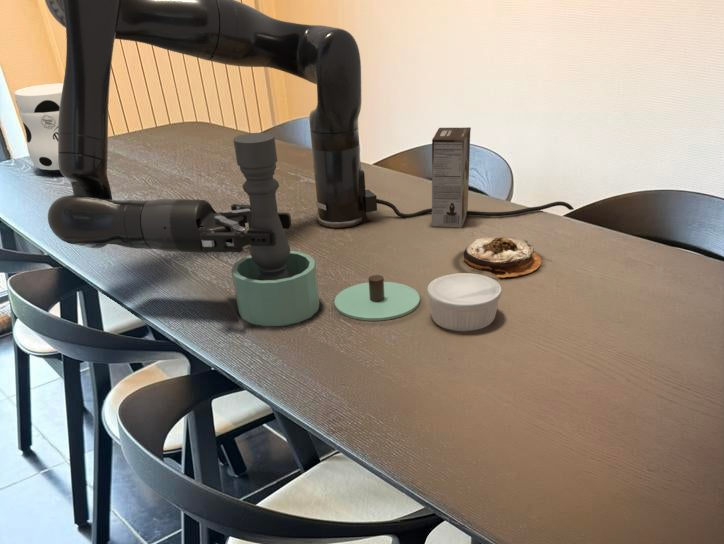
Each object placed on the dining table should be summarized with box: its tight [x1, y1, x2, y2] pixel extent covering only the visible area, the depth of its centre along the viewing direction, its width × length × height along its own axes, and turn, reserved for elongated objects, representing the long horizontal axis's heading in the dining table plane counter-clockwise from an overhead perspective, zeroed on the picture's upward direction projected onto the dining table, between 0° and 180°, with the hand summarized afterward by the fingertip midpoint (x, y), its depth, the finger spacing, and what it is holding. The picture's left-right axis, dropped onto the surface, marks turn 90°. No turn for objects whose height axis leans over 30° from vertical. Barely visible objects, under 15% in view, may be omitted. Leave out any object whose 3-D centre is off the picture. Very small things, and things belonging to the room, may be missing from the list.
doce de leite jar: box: [13, 82, 64, 174], centre depth 179 cm, size 17×17×18 cm
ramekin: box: [426, 272, 503, 332], centre depth 108 cm, size 11×11×5 cm
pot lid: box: [333, 274, 421, 322], centre depth 113 cm, size 14×14×5 cm
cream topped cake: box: [463, 236, 542, 279], centre depth 125 cm, size 15×15×4 cm
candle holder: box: [232, 132, 291, 281], centre depth 106 cm, size 6×6×25 cm
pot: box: [230, 250, 321, 327], centre depth 112 cm, size 13×13×8 cm
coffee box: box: [431, 127, 472, 228], centre depth 139 cm, size 9×6×16 cm
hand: (282, 229), depth 106 cm, fingers open, 6 cm apart
